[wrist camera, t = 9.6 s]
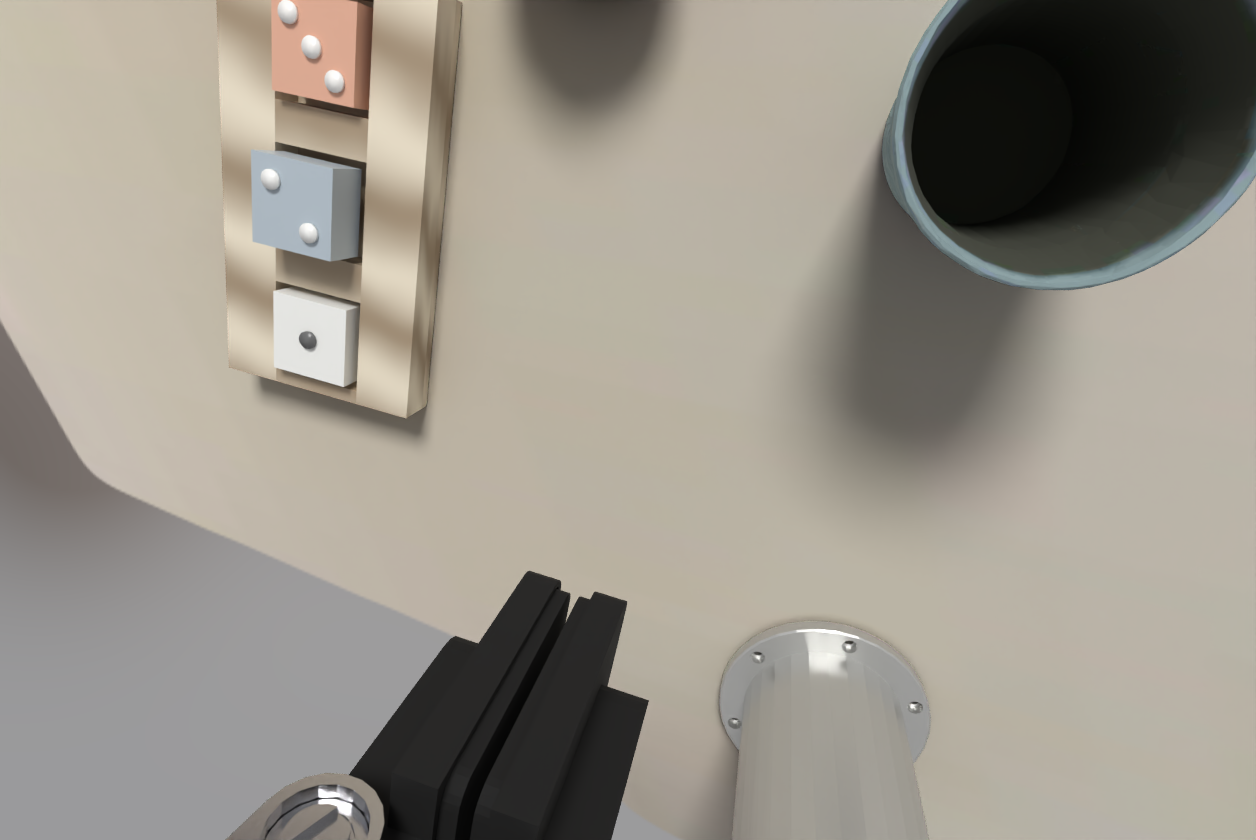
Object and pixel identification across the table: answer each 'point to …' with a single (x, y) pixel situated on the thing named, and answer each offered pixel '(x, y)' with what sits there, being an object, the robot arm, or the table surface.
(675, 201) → the table surface
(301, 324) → the key
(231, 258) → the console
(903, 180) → the grey-blue cup
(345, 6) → the key
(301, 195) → the key
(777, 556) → the table surface
